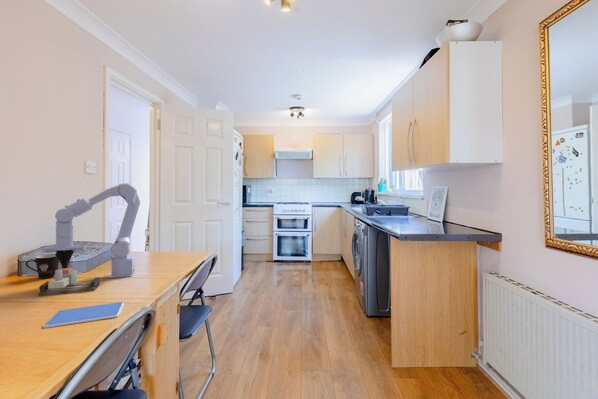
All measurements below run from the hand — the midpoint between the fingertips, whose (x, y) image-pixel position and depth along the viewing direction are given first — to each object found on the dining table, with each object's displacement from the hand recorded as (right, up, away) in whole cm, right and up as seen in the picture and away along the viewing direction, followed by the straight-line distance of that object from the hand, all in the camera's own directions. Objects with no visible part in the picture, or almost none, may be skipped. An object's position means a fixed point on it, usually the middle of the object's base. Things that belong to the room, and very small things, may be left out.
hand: (65, 267), depth 121 cm
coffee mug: (-17, -7, +10) cm, 21 cm away
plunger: (0, -5, 0) cm, 5 cm away
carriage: (+4, -6, -8) cm, 10 cm away
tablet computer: (+31, -9, -28) cm, 43 cm away
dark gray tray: (+8, -8, -6) cm, 13 cm away
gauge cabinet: (0, -7, 0) cm, 7 cm away
